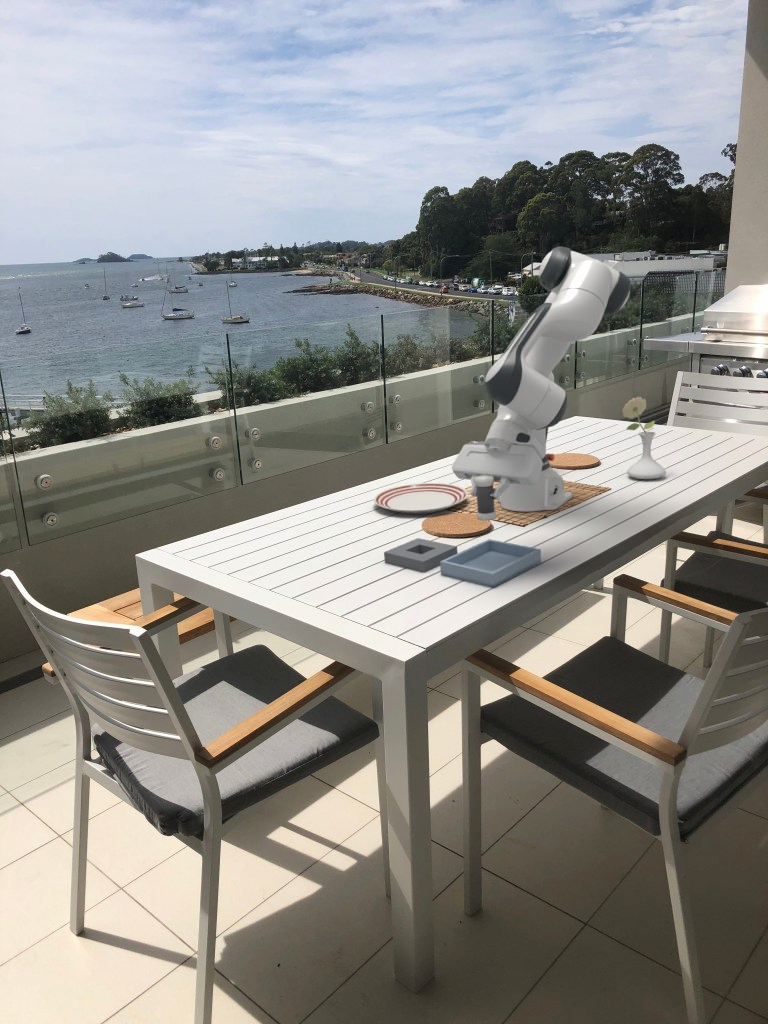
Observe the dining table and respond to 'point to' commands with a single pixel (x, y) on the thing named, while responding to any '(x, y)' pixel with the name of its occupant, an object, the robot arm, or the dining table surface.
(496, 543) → the parts tray
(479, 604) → the dining table surface
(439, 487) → the dinner plate
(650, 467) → the flower in vase
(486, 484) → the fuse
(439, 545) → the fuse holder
